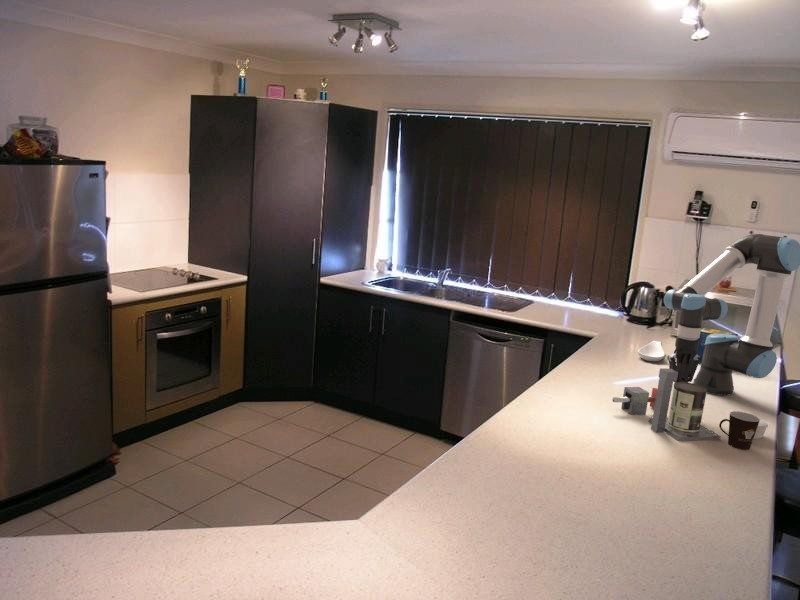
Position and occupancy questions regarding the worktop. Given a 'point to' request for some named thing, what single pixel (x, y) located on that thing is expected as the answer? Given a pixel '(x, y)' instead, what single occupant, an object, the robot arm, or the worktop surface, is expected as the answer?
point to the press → (662, 408)
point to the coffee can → (687, 407)
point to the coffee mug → (741, 429)
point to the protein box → (702, 339)
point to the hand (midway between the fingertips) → (677, 399)
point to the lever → (628, 399)
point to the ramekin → (760, 429)
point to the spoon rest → (652, 351)
